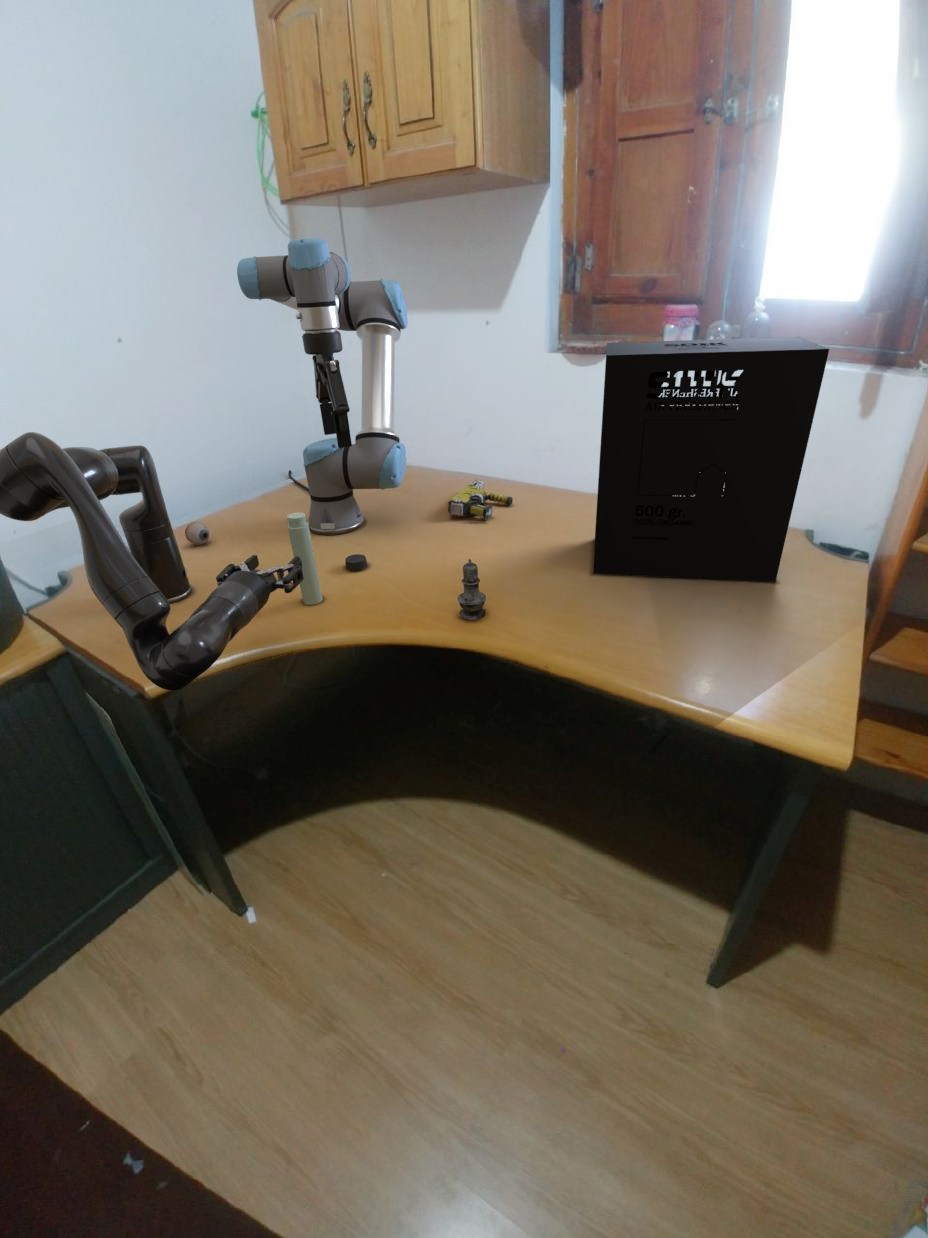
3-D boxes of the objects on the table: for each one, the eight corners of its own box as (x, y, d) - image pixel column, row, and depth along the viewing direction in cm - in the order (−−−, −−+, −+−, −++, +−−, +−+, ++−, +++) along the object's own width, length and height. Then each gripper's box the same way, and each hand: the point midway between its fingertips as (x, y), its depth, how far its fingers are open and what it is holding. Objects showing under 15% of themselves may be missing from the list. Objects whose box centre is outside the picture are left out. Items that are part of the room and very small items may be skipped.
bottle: (320, 604, 129) (303, 518, 119) (301, 605, 129) (282, 519, 119) (324, 595, 132) (308, 511, 123) (305, 596, 132) (288, 512, 123)
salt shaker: (484, 621, 119) (482, 566, 113) (455, 619, 120) (451, 564, 114) (489, 607, 124) (487, 553, 118) (461, 605, 125) (458, 552, 119)
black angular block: (755, 543, 144) (798, 336, 121) (775, 581, 127) (829, 348, 104) (594, 538, 151) (606, 342, 129) (592, 573, 134) (606, 355, 112)
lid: (368, 569, 143) (366, 561, 142) (347, 572, 142) (345, 563, 141) (366, 561, 147) (365, 552, 146) (345, 564, 146) (344, 555, 145)
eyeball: (198, 549, 158) (192, 528, 155) (183, 545, 161) (177, 524, 158) (217, 541, 163) (211, 520, 160) (202, 538, 166) (196, 517, 163)
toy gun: (520, 484, 182) (474, 477, 186) (498, 508, 162) (446, 499, 166) (519, 500, 184) (473, 492, 188) (497, 524, 164) (445, 516, 168)
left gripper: (271, 583, 97) (309, 542, 111) (190, 580, 99) (237, 540, 113) (280, 623, 101) (316, 578, 115) (203, 619, 103) (247, 576, 117)
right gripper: (291, 329, 128) (309, 431, 138) (314, 336, 108) (333, 455, 118) (326, 326, 130) (341, 426, 141) (355, 333, 110) (370, 449, 121)
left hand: (277, 560), depth 114 cm, fingers open, 8 cm apart
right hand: (337, 440), depth 130 cm, fingers open, 13 cm apart
